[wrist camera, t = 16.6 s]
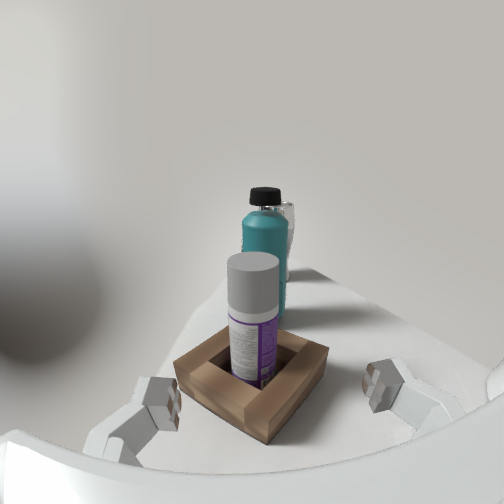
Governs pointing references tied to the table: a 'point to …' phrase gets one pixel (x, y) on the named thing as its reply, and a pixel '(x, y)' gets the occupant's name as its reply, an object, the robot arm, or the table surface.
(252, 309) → the container
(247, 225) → the beverage bottle
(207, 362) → the socket block
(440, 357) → the table surface
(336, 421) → the table surface
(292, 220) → the beer glass
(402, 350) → the table surface
